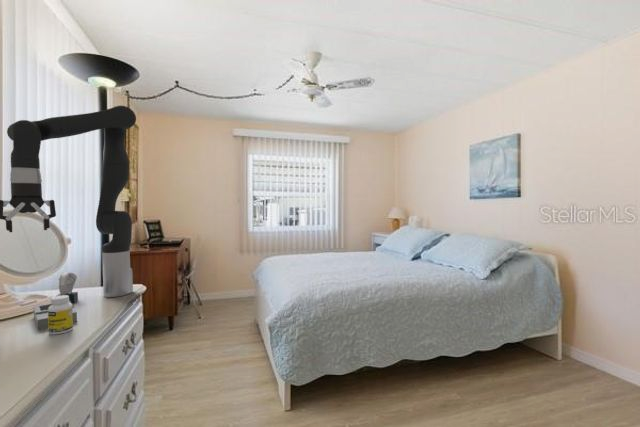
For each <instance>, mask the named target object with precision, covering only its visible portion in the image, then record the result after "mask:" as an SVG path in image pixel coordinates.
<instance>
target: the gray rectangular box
mask: <svg viewBox="0 0 640 427" xmlns="http://www.w3.org/2000/svg"><path fill="white" fill-rule="evenodd" d="M68 303H71V302H70V301H68ZM71 304H72V303H71ZM51 305H52V304H51V302H50V303H45V304H41V305H40V304H39V305H33V319H34V322H35V325H36V328H37V331H41V330H45V329H48V308H49V307H50V306H51ZM72 311H73V324H74V323H77V322H78V316H77V315H78V314H77V310H76V309H75V308H74V305H73V304H72Z"/></svg>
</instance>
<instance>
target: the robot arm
mask: <svg viewBox="0 0 640 427" xmlns="http://www.w3.org/2000/svg"><path fill="white" fill-rule="evenodd" d="M136 116H137V115H136V114H135V112H134V110H132V109H131V108H130V107H128V106H125V105H115V106H113V107H112V108H111V107H110V108H107V109H103V110H99V111H94V112H87V113H79V114H72V115H71V114H70V115H63V116H61V115H60V116H54V117H46V118H44V119H40V120H33V121H32V120H28V119H27V120H26V119H25V120H24V119H21V120H17V121H15V122H13V123H12V124H10V125H9V126H8V127H7V130H6V134H7V137H8V138H9V139H10V140H11V141H12V143H13V144H12V145H13V146H12V147H13V148H12V151H11V152H10V176H9V178H10V179H9V181H10V194H11V195H10V198H11V199H9V200H3V199H0V220H4V221H5V228H6V231H8V232H9V233H13V220H12V219H13V218H14V217H15V216H16V215H17V214H18V213H21V214H26V213H29V214H30V213H31V214H33V213H37V214H39V215H40V216H41V217H43V221H42V222H43V231H47V230H48V229H50V219H52V218H55V217H56V216H57V212H56V205H55V204H56V203H55V200H54V199H49V200H45V199H43V190H42V189H43V188H42V182H43V181H42V173H41V168H40V167H41V165H40V164H41V162H40V151H41V143H42V141H46V140H52V139H61V138H62V139H63V138H67V137H68V138H69V137H73V136H77V135H82V134H87V133H89V132H93V131H97V130H102V129H103V134H104V145H103V154H102V165H101V184H100V193H99V200H98V205H97V206H98V207H97V211H96V218H95V225H96V229H97V231H98V232H99V233H100V234H102V235H112V239H111V240H110V241H109V242H107V243H104V244H103V245H102V247H101V252H102V253H101V255H102V256H101V257H102V261H101V262H102V287H103V288H102V289H103V297H105V298H115V297H116V298H117V297H122V296H126V295H128V294H131V293H132V292H134V282H133V280H134V278H133V268H132V267H131V256H130V255H131V254H130V250H131V244H132V233H133V232H132V231H133V223H132V222H133V220H132V216H131V214H130V213H128V211H126V210H116V205H117V200H118V198H119V196H120V194H121V193H122V191H123V190H124V189H125V187H126V185H127V184H128V182H129V179H130V159H129V156H128V153H127V150H126V146H125V145H126V143H125V142H126V134H127V130H129V129H131V128H132V127H133V126H135V124H136V122H137V117H136ZM44 204H46V206H47V207H49V214H47V213H46V212H45V211H44V210H43V209H42V207H43V205H44ZM8 205H10V206H11V207H12V208H13V209H12V210H11V212H10V213H9V214H8V215H4V208H6V207H7V206H8Z"/></svg>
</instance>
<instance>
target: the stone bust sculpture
mask: <svg viewBox="0 0 640 427" xmlns="http://www.w3.org/2000/svg"><path fill="white" fill-rule="evenodd" d="M77 279H78V276H77V275H76V274H75V273H74V272H70V271H69V272H67V271H66V272H61V273H60V276H59V278H58V289H59V293H58V294H57V295H56V296H62V295H68V296H69V301H70V302H71V303H72V305H73V304H75V303H77V302H78V301H79V293H78V291H73V289H74V286H75V284H76V281H77ZM56 296H54V297H56Z"/></svg>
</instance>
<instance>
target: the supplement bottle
mask: <svg viewBox="0 0 640 427" xmlns="http://www.w3.org/2000/svg"><path fill="white" fill-rule="evenodd" d="M68 301H69V296H68V295H62V296H57V295H56V297H55V296H53V297H51V298H50V303H51V304H52V305H51V306H50V307H49V308H48V328H47V329H48V334H49V335H62V334H65V333H68V332H70V331H72V330H73V329H74V328H73V327H74V323H73V311H72V305H73V304H71V303H68Z"/></svg>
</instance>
